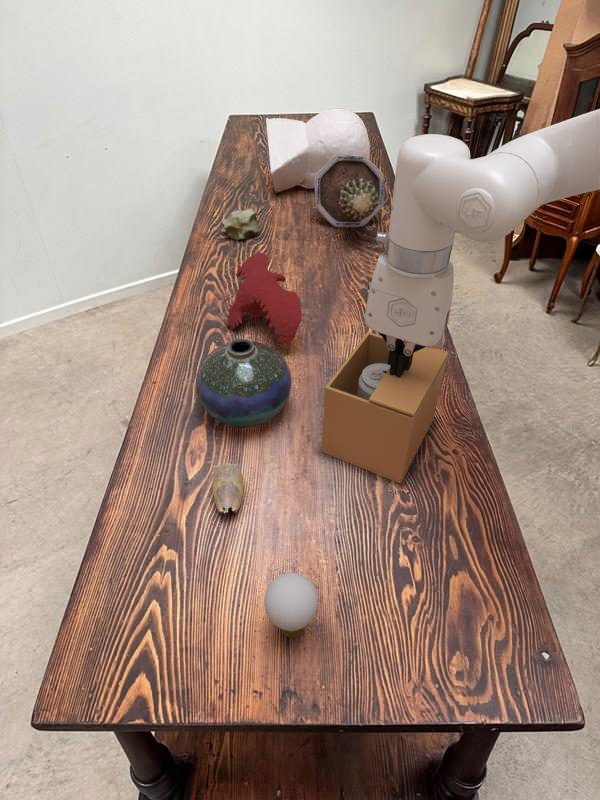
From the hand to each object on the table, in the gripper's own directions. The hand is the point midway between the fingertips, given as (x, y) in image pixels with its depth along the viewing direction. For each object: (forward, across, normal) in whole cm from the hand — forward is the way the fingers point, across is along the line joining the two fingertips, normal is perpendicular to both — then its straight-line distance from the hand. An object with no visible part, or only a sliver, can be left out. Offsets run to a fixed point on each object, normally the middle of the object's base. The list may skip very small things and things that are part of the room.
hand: (398, 370), depth 76 cm
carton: (+14, -1, 0) cm, 14 cm away
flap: (0, +2, 0) cm, 2 cm away
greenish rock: (+15, -59, +49) cm, 78 cm away
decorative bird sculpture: (+15, -36, +18) cm, 42 cm away
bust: (+15, -56, +86) cm, 104 cm away
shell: (+14, -15, -22) cm, 31 cm away
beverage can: (+14, -2, 0) cm, 14 cm away
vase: (+14, -23, -5) cm, 28 cm away
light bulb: (+14, +2, -34) cm, 37 cm away
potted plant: (+15, -37, +66) cm, 77 cm away
